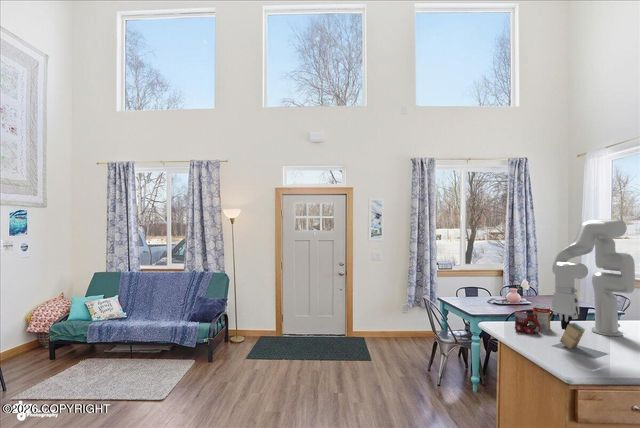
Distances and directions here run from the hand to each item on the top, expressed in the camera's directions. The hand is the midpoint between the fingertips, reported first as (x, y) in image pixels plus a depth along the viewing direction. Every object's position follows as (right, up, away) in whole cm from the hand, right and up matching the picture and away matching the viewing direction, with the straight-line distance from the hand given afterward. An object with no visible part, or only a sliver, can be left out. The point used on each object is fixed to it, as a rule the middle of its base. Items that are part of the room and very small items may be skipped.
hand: (565, 329), depth 169 cm
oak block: (0, -7, -1) cm, 7 cm away
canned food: (+6, -9, +28) cm, 30 cm away
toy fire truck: (-6, -9, +22) cm, 24 cm away
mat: (+3, -8, -5) cm, 10 cm away
